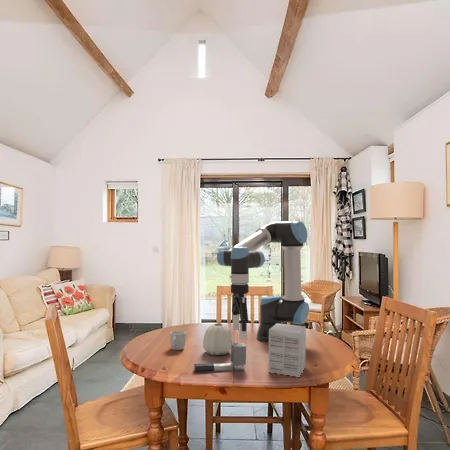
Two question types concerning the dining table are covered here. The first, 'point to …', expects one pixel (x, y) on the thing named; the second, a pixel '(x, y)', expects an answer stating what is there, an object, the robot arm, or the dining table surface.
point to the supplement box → (287, 349)
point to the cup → (177, 339)
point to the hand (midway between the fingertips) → (239, 334)
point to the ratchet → (217, 367)
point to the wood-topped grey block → (238, 353)
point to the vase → (217, 340)
